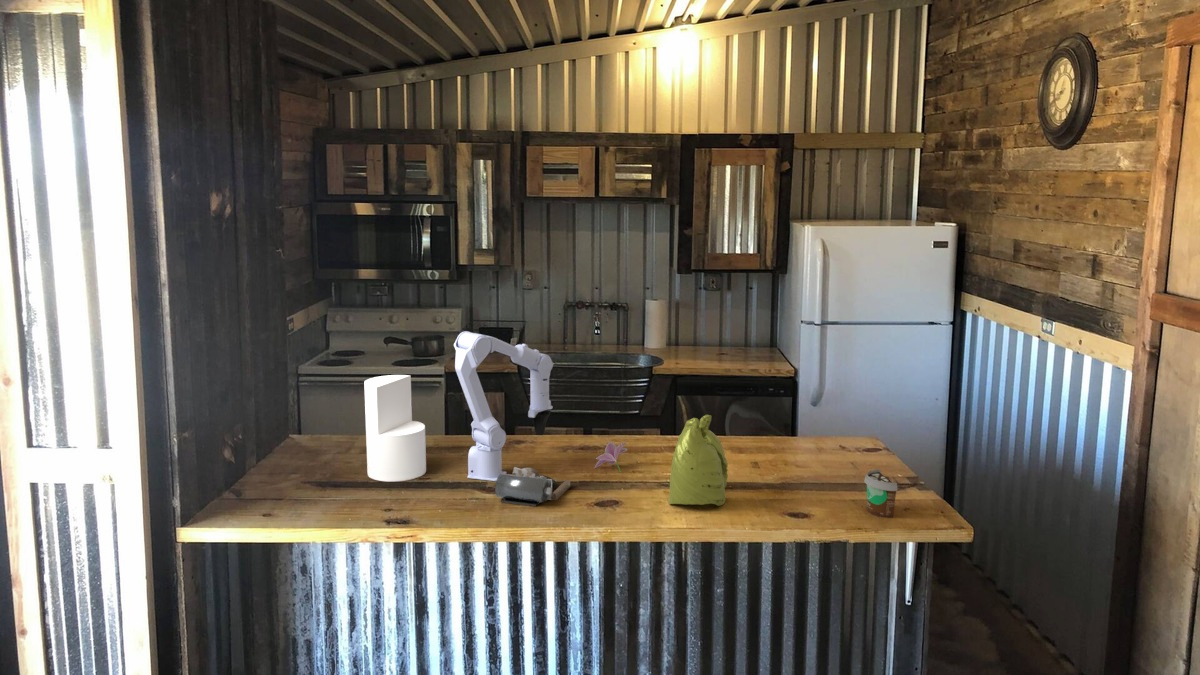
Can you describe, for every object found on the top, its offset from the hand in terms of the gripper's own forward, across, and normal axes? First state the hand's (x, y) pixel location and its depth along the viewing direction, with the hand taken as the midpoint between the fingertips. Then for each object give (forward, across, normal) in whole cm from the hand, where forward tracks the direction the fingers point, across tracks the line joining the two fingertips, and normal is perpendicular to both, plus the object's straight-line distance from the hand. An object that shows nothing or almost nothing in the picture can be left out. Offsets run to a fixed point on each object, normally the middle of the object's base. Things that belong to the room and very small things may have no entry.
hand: (539, 434), depth 281 cm
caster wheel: (+10, -23, -7) cm, 26 cm away
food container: (+10, -10, -100) cm, 101 cm away
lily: (+10, +2, -23) cm, 25 cm away
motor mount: (+9, -26, -7) cm, 29 cm away
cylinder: (+10, -21, +38) cm, 44 cm away
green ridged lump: (+10, -13, -52) cm, 55 cm away
